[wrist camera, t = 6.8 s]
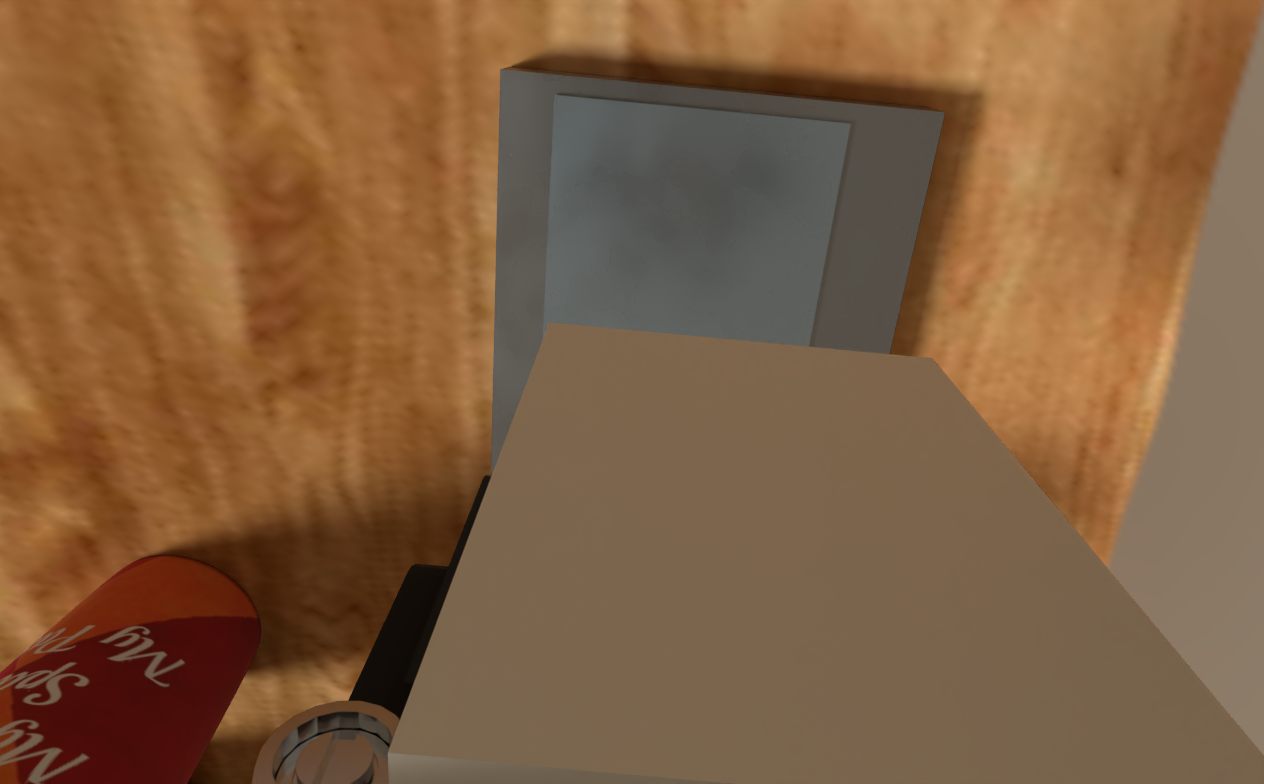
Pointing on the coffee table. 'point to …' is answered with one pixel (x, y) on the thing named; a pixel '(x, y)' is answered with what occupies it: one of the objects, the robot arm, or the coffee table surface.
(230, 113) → the coffee table surface
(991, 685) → the block
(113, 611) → the coffee cup
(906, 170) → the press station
